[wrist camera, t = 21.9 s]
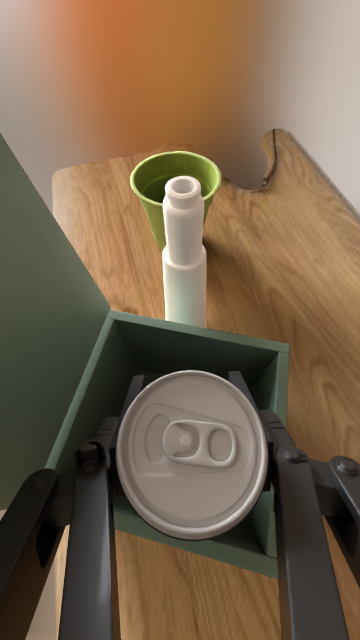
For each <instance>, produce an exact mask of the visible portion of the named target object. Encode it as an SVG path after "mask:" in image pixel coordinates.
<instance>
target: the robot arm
mask: <svg viewBox="0 0 360 640" xmlns="http://www.w3.org/2000/svg"><path fill="white" fill-rule="evenodd" d="M229 382H230V383H231V384H233V385H234V386H235V387H237V388H238V389H239V390H240V391H241V392H242V393H243V394H244V395H245V396H246V397H247V398H248V399H249V401H250V402H251V403H252V405H253V406H254V408H255V409H256V411H257V413H258V415H259V417H260V419H261V421H262V424H263V427H264V430H265V433H266V437H267V443H268V451H269V464H268V473H267V478H266V482H265V485H264V489H263V491H262V492H267V491H270V489H271V483H272V486H273V489H274V503H273V512H274V513H275V531H276V549H277V567H278V585H279V604H280V622H281V640H350V639H349V635H348V630H347V626H346V622H345V617H344V613H343V608H342V604H341V599H340V595H339V590H338V586H337V582H336V577H335V573H334V568H333V564H332V559H331V555H330V550H329V546H328V542H327V537H326V533H325V528H324V524H323V519H322V515H324V516H325V518H326V520H327V522H328V524H329V526H330V528H331V530H332V532H333V534H334V536H335V538H336V540H337V543H338V545H339V547H340V549H341V551H342V553H343V555H344V557H345V559H346V561H347V563H348V565H349V567H350V569H351V571H352V573H353V575H354V578H355V580H356V582H357V584H358V586H359V588H360V464H359V463H358V462H356V461H355V460H353V459H351V458H348V457H344V456H335V457H333V458H331V459H330V463H324V462H319V461H315V460H312V459H310V458H308V456H307V455H306V454H305V453H304V452H303V451H302V450H300V449H298V448H296V446H295V444H294V443H293V441H292V439H291V437H290V436H289V434H288V432H287V430H286V429H285V427H284V425H283V424H282V422H281V420H280V418H279V417H278V415H277V414H276V413H274V412H273V411H272V410H258V408H257V406H256V404H255V402H254V400H253V398H252V396H251V394H250V391H249V389H248V387H247V385H246V383H245V381H244V379H243V377H242V375H241V372H240V371H232V372H229ZM145 387H146V382H145V375H138V376H133V379H132V382H131V385H130V388H129V391H128V394H127V397H126V400H125V403H124V406H123V409H122V411H121V414H120V416H119V417H107V418H106V419H105V420H104V421H103V422H102V423H101V425H100V427H99V429H98V432H97V434H96V437H95V439H91V440H87V441H84V442H82V443H81V444H79V445H78V446H77V447H76V448H75V449H74V452H73V458H74V463H75V469H73V470H71V471H68V472H65V473H61V474H58V475H56V472H55V470H53V469H51V468H44V469H40V470H38V471H36V472H34V473H32V474H31V475H30V476H28V477H27V479H26V480H25V481H24V482H23V484H22V486H21V487H20V489H19V491H18V492H17V494H16V496H15V497H14V499H13V501H12V502H11V504H10V506H9V507H8V509H7V511H6V512H5V514H4V516H3V517H2V519H1V521H0V640H25V639H26V636H27V633H28V630H29V627H30V624H31V622H32V619H33V616H34V613H35V610H36V608H37V605H38V602H39V599H40V597H41V594H42V591H43V588H44V585H45V583H46V580H47V577H48V574H49V571H50V568H51V566H52V563H53V560H54V557H55V555H56V552H57V549H58V546H59V543H60V541H61V538H62V535H63V532H64V529H65V527H66V525H69V524H70V529H69V538H68V548H67V558H66V567H65V577H64V587H63V596H62V606H61V615H60V625H59V635H58V640H121V633H120V616H119V598H118V580H117V562H116V545H115V527H114V509H113V500H112V497H113V493H114V489H115V495H116V497H125V495H124V493H123V490H122V488H121V485H120V482H119V478H118V474H117V469H116V459H115V449H116V440H117V434H118V430H119V427H120V424H121V421H122V418H123V416H124V414H125V412H126V410H127V408H128V407H129V405H130V404H131V402H132V401H133V400H134V398H135V397H136V396H137V395H138V394H139V393H140V392H141V391H142V390H143V389H144V388H145ZM321 514H322V515H321Z"/></svg>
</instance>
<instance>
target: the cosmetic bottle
mask: <svg viewBox="0 0 360 640" xmlns="http://www.w3.org/2000/svg"><path fill="white" fill-rule="evenodd" d="M165 191H166V196H165V198H164V200H163V214H164V224H165V234H166V244H167V245H166V246H165V248H164V250H163V278H164V294H165V310H166V321H171V322H177V323H182V324H187V325H192V326H198V327H203V328H207V325H206V250H205V248H204V246H203V245H202V235H203V219H204V200H203V197H202V196H201V185H200V183H199V181H198V180H196V179H195V178H192V177H189V176H178V177H175V178H173V179H171V180H169V181H168V182H167V184H166V186H165Z"/></svg>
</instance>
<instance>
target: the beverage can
mask: <svg viewBox="0 0 360 640" xmlns="http://www.w3.org/2000/svg"><path fill="white" fill-rule="evenodd" d="M115 459H116V469H117V474H118V478H119V482H120V485H121V488H122V490H123V493H124V495H125V497H126V499H127V501H128V502H129V504H130V506H131V507H132V508H133V510H134V511H135V512H136V514H137V515H138V516H139V517H140V518H141V519H142V520H143V521H144V522H145V523H146V524H148V525H149V526H150V527H151V528H153V529H154V530H156V531H158V532H159V533H161V534H163V535H166V536H168V537H171V538H174V539H178V540H183V541H205V540H209V539H213V538H216V537H219V536H221V535H224V534H226V533H227V532H229V531H231V530H232V529H234V528H235V527H237V526H238V525H239V524H240V523H241V522H242V521H243V520H244V519H245V518H246V517H247V516H248V515H249V514H250V513H251V511H252V510H253V508H254V507H255V505H256V504H257V502H258V500H259V498H260V496H261V494H262V491H263V489H264V485H265V482H266V478H267V473H268V464H269V451H268V443H267V437H266V433H265V430H264V427H263V424H262V421H261V419H260V417H259V415H258V413H257V411H256V409H255V408H254V406H253V405H252V403H251V402H250V401H249V399H248V398H247V397H246V396H245V395H244V394H243V393H242V392H241V391H240V390H239V389H238V388H237V387H235V386H234V385H233V384H231V383H230V382H228V381H227V380H225V379H223V378H221V377H219V376H216V375H214V374H211V373H207V372H203V371H193V370H188V371H179V372H175V373H171V374H168V375H165V376H163V377H160V378H159V379H157V380H155V381H153V382H152V383H150V384H149V385H147V386H146V387H145V388H144V389H143V390H142V391H141V392H140V393H139V394H138V395H137V396H136V397H135V398H134V400H133V401H132V402H131V404H130V405H129V407H128V408H127V410H126V412H125V414H124V416H123V418H122V421H121V424H120V427H119V430H118V434H117V440H116V449H115Z"/></svg>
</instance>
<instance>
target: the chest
mask: <svg viewBox="0 0 360 640" xmlns="http://www.w3.org/2000/svg"><path fill="white" fill-rule="evenodd" d="M289 350H290V344H287V343H282V342H276V341H271V340H266V339H261V338H255V337H250V336H245V335H240V334H234V333H229V332H224V331H219V330H213V329H208V328H203V327H198V326H192V325H187V324H182V323H177V322H171V321H166V320H161V319H156V318H150V317H145V316H140V315H135V314H130V313H124V312H119V311H114V310H110V311H109V313H108V316H107V318H106V320H105V323H104V325H103V328H102V330H101V332H100V335H99V337H98V340H97V342H96V345H95V347H94V349H93V352H92V354H91V357H90V359H89V362H88V364H87V366H86V369H85V371H84V374H83V376H82V378H81V381H80V383H79V386H78V388H77V391H76V393H75V395H74V398H73V400H72V403H71V405H70V407H69V410H68V412H67V415H66V417H65V420H64V422H63V424H62V427H61V429H60V432H59V434H58V436H57V439H56V441H55V444H54V446H53V449H52V451H51V453H50V456H49V458H48V461H47V463H46V466H45V468H51V469H53V470H55V472H56V475H58V474H61V473H65V472H68V471H71V470H73V469H75V463H74V458H73V452H74V449H75V448H76V447H77V446H78V445H79V444H81V443H82V442H84V441H87V440H91V439H95V437H96V434H97V432H98V429H99V427H100V425H101V423H102V422H103V421H104V420H105V419H106V418H107V417H119V416H120V414H121V411H122V409H123V406H124V403H125V400H126V397H127V394H128V391H129V388H130V385H131V382H132V379H133V376H138V375H145V382H146V386H147V385H149V384H150V383H152V382H153V381H155V380H157V379H159V378H160V377H163V376H165V375H168V374H171V373H175V372H179V371H188V370H193V371H203V372H207V373H211V374H214V375H216V376H219V377H221V378H223V379H225V380H227V381H228V382H229V372H232V371H240V372H241V375H242V377H243V379H244V381H245V383H246V385H247V387H248V389H249V391H250V394H251V396H252V398H253V400H254V402H255V404H256V406H257V408H258V410H272V411H273V412H274V413H276V414H277V415H278V417H279V418H280V420H281V422H282V424H283V425H284V427H285V429H286V427H287V400H288V373H289ZM112 500H113V509H114V527H115V529H117V530H120V531H123V532H126V533H130V534H133V535H136V536H139V537H143V538H146V539H149V540H152V541H156V542H159V543H162V544H165V545H169V546H172V547H175V548H178V549H182V550H185V551H188V552H191V553H195V554H198V555H201V556H204V557H208V558H211V559H214V560H217V561H221V562H224V563H227V564H230V565H234V566H237V567H240V568H243V569H247V570H250V571H253V572H256V573H260V574H263V575H266V576H269V577H273V578H276V579H278V567H277V549H276V531H275V513H274V512H273V503H274V489H273V486H272V483H271V489H270V491H267V492H262V494H261V496H260V498H259V500H258V502H257V504H256V505H255V507H254V508H253V510H252V511H251V513H250V514H249V515H248V516H247V517H246V518H245V519H244V520H243V521H242V522H241V523H240V524H239V525H238V526H237V527H235V528H234V529H232V530H231V531H229V532H227V533H226V534H224V535H221V536H219V537H216V538H213V539H209V540H205V541H183V540H178V539H174V538H171V537H168V536H166V535H163V534H161V533H159V532H158V531H156V530H154V529H153V528H151V527H150V526H149V525H148V524H146V523H145V522H144V521H143V520H142V519H141V518H140V517H139V516H138V515H137V514H136V512H135V511H134V510H133V508H132V507H131V506H130V504H129V502H128V501H127V499H126V497H116V495H115V489H114V493H113V497H112Z"/></svg>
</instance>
